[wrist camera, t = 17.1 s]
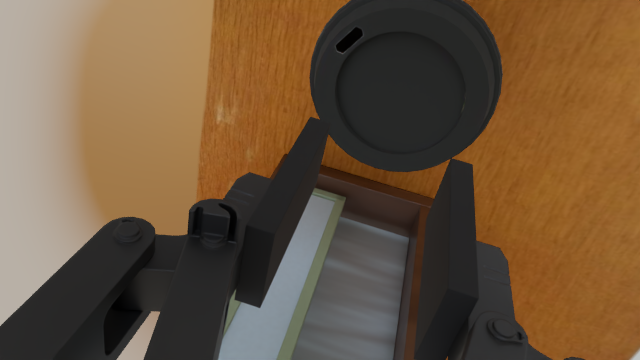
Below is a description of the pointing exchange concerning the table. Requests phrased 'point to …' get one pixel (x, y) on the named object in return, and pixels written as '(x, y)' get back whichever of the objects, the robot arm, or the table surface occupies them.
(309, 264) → the window sash
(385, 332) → the window frame
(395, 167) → the coffee cup
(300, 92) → the table surface
